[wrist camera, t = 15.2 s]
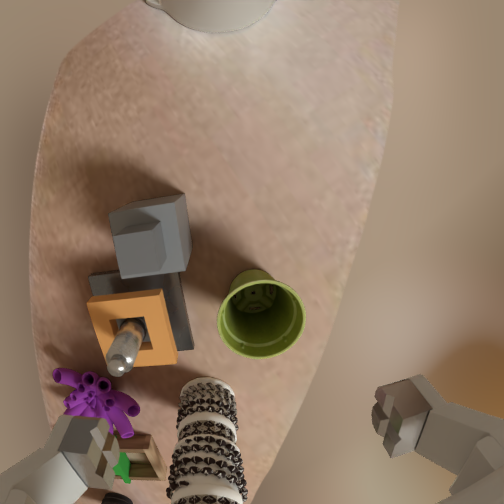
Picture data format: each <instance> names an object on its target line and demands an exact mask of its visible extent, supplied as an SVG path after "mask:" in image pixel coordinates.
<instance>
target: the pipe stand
mask: <svg viewBox="0 0 504 504" xmlns="http://www.w3.org/2000/svg"><path fill="white" fill-rule="evenodd" d="M88 279H89V283H90V286H91V290H92V294H93V296H101V295H110V294H118V293H127V292H136V291H144V290H152V289H161V288H162V290H163V295H164V299H165V303H166V308H167V312H168V316H169V321H170V325H171V329H172V333H173V337H174V341H175V345H176V349H177V351H183V350H193V349H194V341H193V337H192V332H191V328H190V323H189V319H188V314H187V309H186V305H185V300H184V295H183V290H182V285H181V279H180V274H179V272H173V273H165V274H157V275H149V276H142V277H134V278H126V279H122V278H121V274H120V270H115V271H108V272H101V273H93V274H90V275H89V276H88ZM116 322H117V325H118V328H119V331H118V333H117V335H116V337H115V339H114V340H113V342H112V344H111V346H110V348H109V350H108V352H107V354H106V362H107V364H108V365H107V370H108V372H109V373H110V374H111V375H113V376H116V377H120V376H122V375H123V374H124V373H126V372H129V371H130V370H131V369H132V368H133V365H134V362H135V360H136V357H137V354H138V352H139V349H140V346H141V344H142V342H149V341H151V340H150V336H149V333H148V329H147V325H146V322H145V318H144V316H143V317H133V318H122V319H116Z"/></svg>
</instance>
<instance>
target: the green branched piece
mask: <svg viewBox="0 0 504 504" xmlns="http://www.w3.org/2000/svg"><path fill="white" fill-rule="evenodd" d="M114 436H115V437H116V438H117V436H116V435H114ZM130 468H131V463H130V461H129V459H128V457H127V455H126V453H125V452H120V457H119V461H118V464H117V465H115V466H114V467H113V468H112V469H113V470H114V472H115V475H120V476H121V477H122V479H123V480H124V482H125V483H129V484H130V482H131V480H130V478H129V470H130Z"/></svg>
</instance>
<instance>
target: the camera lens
mask: <svg viewBox="0 0 504 504" xmlns="http://www.w3.org/2000/svg"><path fill="white" fill-rule="evenodd" d="M101 504H133V502H132V501H131V500H130V499H129V498H127V497H125V496H123V495H120V494H116V493H108V494H106V495H105V498H104V499H103V500H102V503H101Z"/></svg>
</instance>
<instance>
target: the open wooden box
mask: <svg viewBox="0 0 504 504" xmlns="http://www.w3.org/2000/svg"><path fill="white" fill-rule="evenodd" d="M116 436H117V438H116V439H117V441H118V445H119V452H128V453H145V454H146V456H147V458H148V459H149V461H150V463H151V464H131V468H130V470H129V478H130V480H157V481H166V472H167V466H166V464H165V462H164V460H163V458H162V456H161V454H160V452H159V450H158V448H157V446H156V444H155V442H154V440H153V438H152V435H133V436H132V437H129V438H122V437H121V436H120V435H116ZM114 479H122V477H121V476H120V475H115V478H114Z"/></svg>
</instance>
